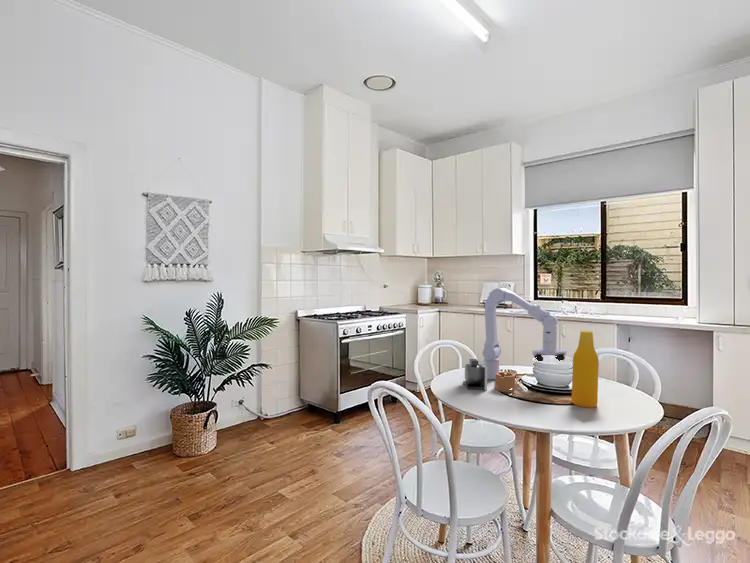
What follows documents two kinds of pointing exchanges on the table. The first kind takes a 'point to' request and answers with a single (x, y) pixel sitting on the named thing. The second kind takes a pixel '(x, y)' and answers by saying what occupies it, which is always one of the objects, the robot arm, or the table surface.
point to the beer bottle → (585, 372)
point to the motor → (475, 375)
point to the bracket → (505, 382)
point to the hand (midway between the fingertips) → (548, 371)
